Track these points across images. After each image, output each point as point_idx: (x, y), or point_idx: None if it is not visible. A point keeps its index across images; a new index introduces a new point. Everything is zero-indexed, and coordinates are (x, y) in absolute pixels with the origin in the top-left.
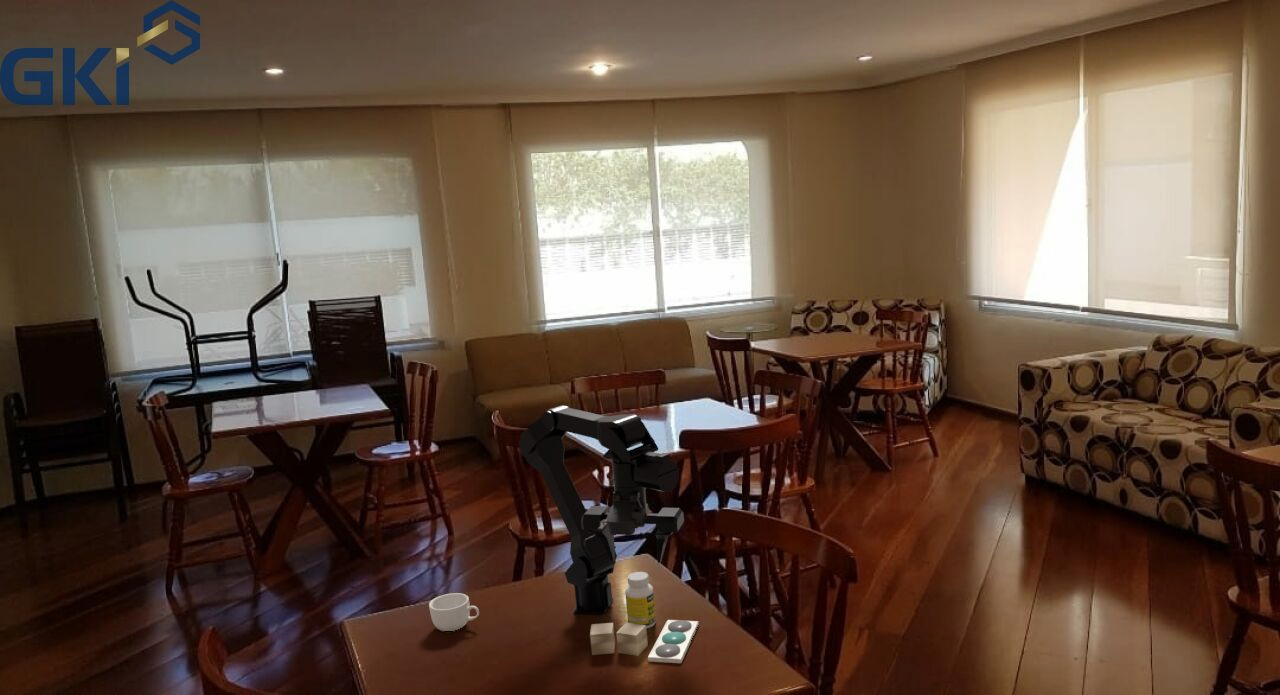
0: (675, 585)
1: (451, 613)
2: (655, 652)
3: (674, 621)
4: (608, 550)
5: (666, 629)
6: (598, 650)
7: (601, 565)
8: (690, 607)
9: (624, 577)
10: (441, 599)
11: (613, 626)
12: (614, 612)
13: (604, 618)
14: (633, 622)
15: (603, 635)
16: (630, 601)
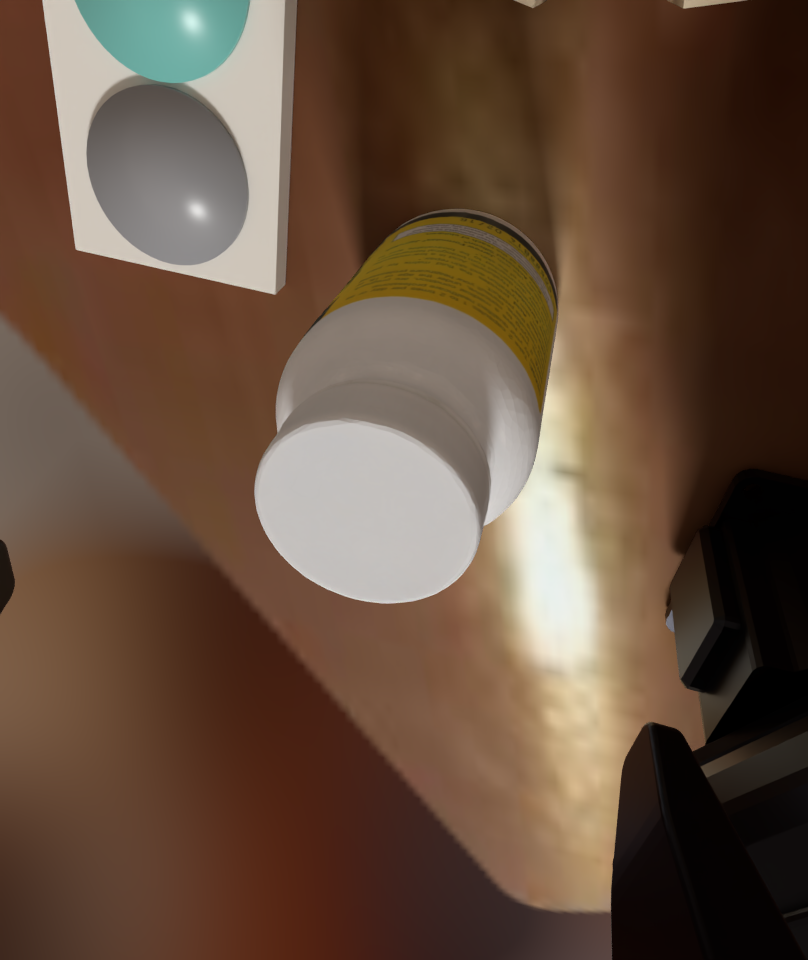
0: (331, 678)
1: None
2: None
3: (217, 251)
4: (740, 917)
5: (251, 143)
6: None
7: (793, 780)
8: (202, 463)
9: (597, 797)
10: None
11: (680, 2)
12: (659, 482)
13: (737, 416)
14: (503, 236)
15: None
16: (490, 309)
